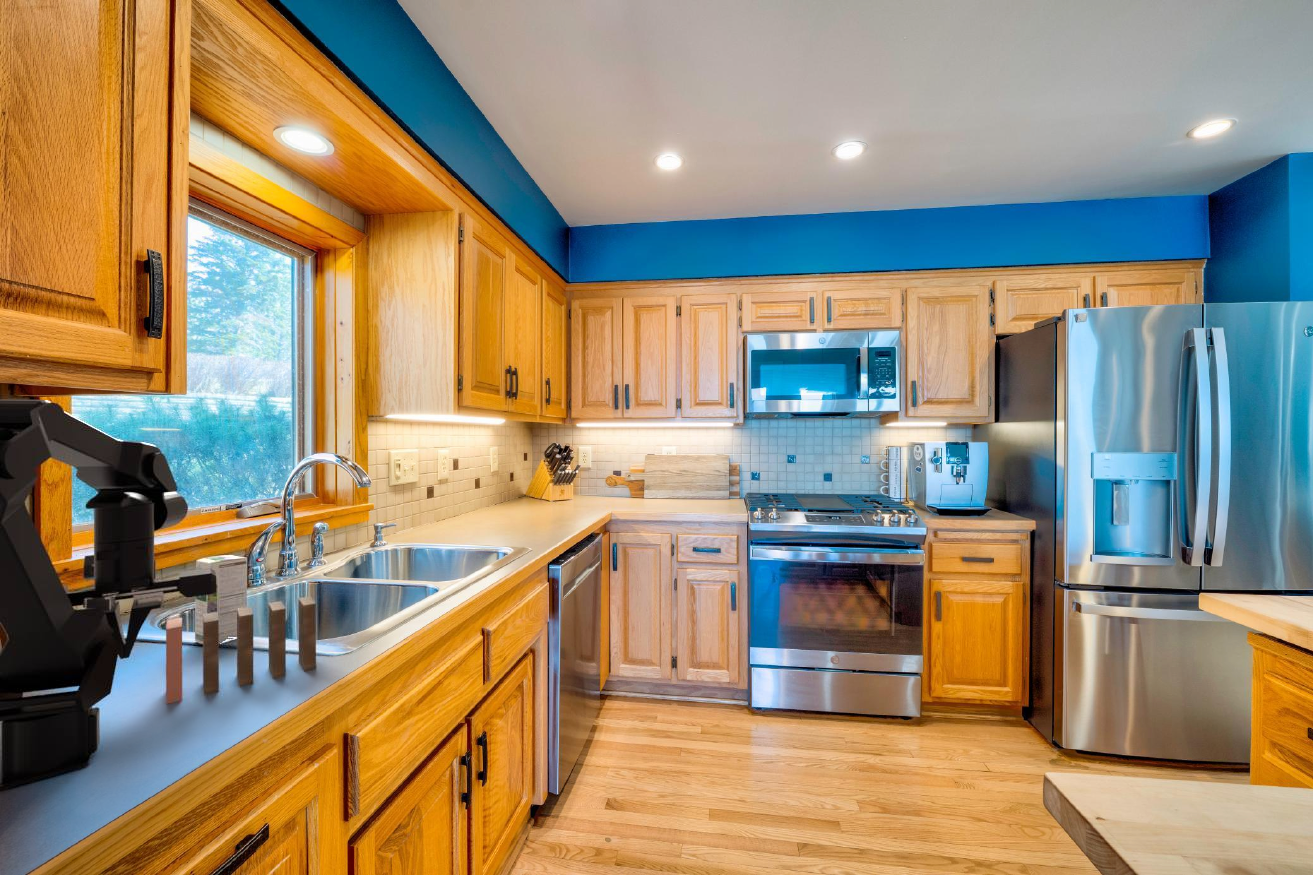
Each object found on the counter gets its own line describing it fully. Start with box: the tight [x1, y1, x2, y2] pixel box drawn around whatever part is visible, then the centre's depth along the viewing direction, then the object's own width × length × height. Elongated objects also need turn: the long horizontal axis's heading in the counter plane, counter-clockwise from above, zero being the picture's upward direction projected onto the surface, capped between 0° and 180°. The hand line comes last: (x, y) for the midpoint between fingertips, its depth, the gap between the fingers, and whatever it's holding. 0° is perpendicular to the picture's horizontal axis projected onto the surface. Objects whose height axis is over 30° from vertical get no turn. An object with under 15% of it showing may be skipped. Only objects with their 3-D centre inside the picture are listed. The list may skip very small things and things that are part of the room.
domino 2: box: [202, 612, 220, 696], centre depth 78 cm, size 2×5×10 cm, turn 41°
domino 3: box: [236, 606, 254, 688], centre depth 80 cm, size 2×5×10 cm, turn 41°
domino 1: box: [165, 617, 183, 705], centre depth 75 cm, size 2×5×10 cm, turn 41°
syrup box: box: [194, 554, 248, 645], centre depth 97 cm, size 6×6×14 cm
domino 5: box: [297, 596, 317, 672], centre depth 86 cm, size 2×5×10 cm, turn 41°
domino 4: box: [268, 600, 287, 679], centre depth 83 cm, size 2×5×10 cm, turn 41°
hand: (125, 657), depth 72 cm, fingers closed
